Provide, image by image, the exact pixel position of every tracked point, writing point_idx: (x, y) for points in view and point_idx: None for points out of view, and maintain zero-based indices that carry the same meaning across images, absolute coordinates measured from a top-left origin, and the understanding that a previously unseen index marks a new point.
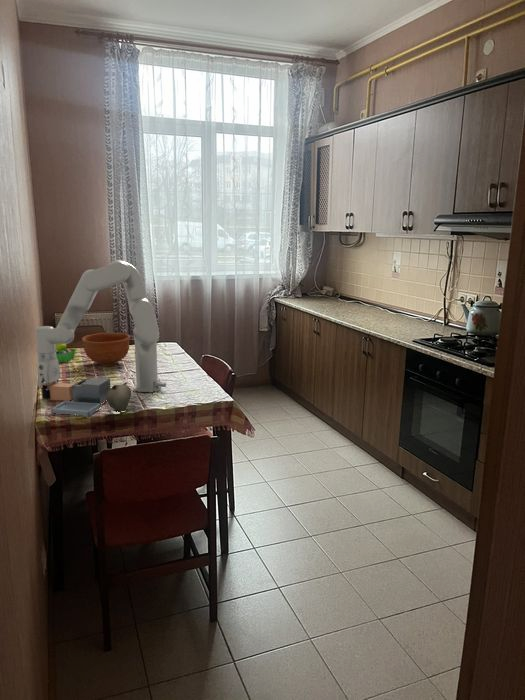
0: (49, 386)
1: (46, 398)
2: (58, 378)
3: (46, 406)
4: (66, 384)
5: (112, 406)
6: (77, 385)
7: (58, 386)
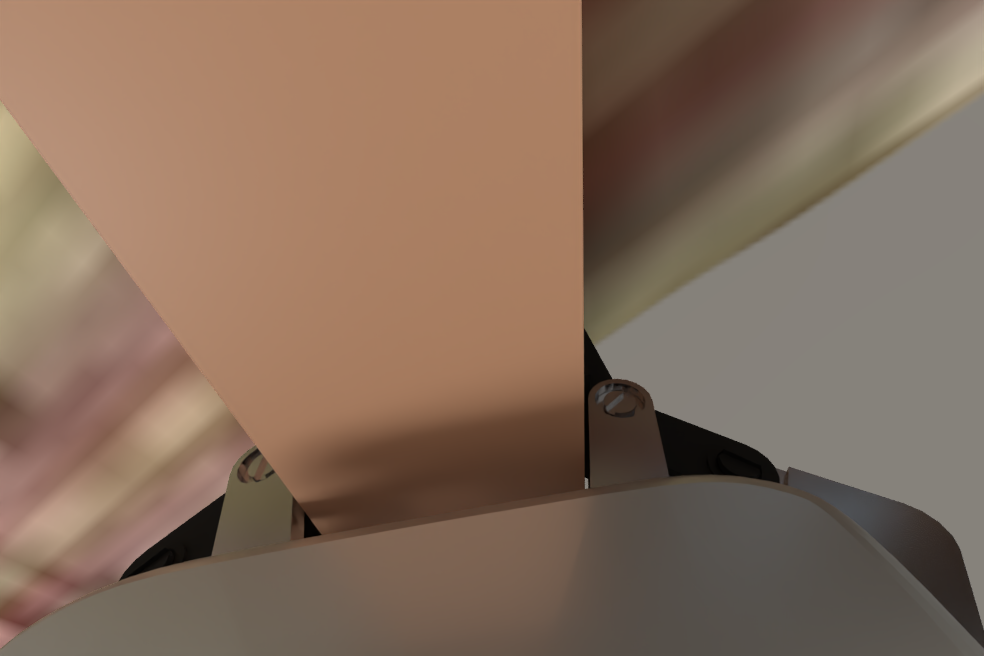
0: (580, 436)
1: None
2: (168, 595)
3: (812, 128)
4: (172, 81)
5: None
6: None
7: (568, 209)
